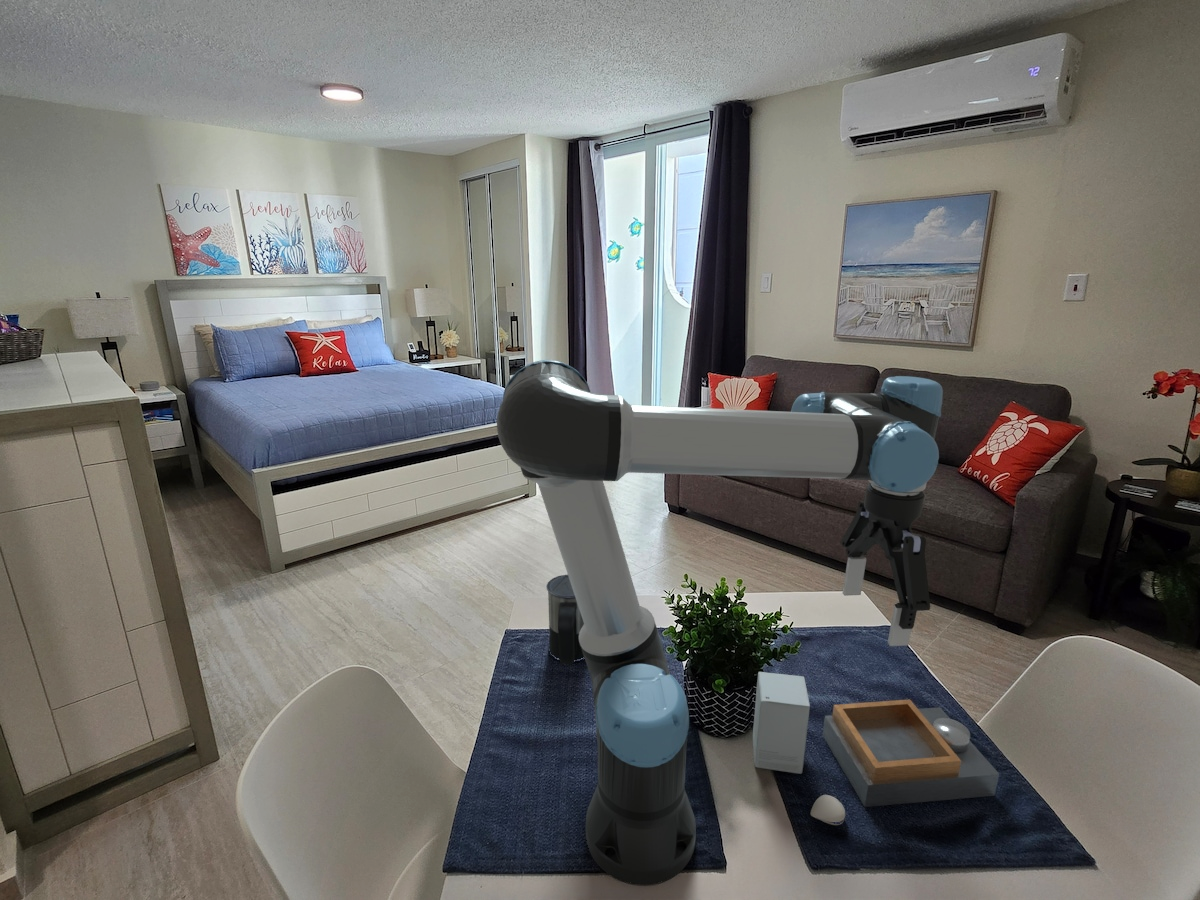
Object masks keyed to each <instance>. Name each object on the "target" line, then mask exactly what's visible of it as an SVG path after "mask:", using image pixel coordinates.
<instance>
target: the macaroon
mask: <svg viewBox="0 0 1200 900" xmlns="http://www.w3.org/2000/svg"><path fill="white" fill-rule="evenodd" d="M810 816H811V817H813V818H815V819H816V820H820V821H822V823H823V822H824V823H826V824H828V825H832V826H840V825H842V824H843V823H844V821H845V820H846V819H845V818H846V810H845V807H844V805H843V804H842V802H841V801H840V800H839V799H837V798H836V797H834V796H832V795H828V794H823V795H820V796H819V797H818V798H817V799H816V800H815V802H814V803H813V805H812V808H811V810H810ZM840 821H841V823H840V824H834V823H833V822H835V823H836V822H840Z"/></svg>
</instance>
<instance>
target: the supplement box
mask: <svg viewBox="0 0 1200 900" xmlns="http://www.w3.org/2000/svg"><path fill="white" fill-rule="evenodd" d="M810 708H811V704H810V699H809V694H808V689H807V684H806V679H805V676H802V675H794V674H793V675H791V674H786V673H773V672H766V671H765V672H764V671H758V673H757V682H756V694H755V705H754V719H753V730H752V749H753V762H754V763H753V765H754V767H755V768H758V769H765V770H772V771H779V772H784V773H785V772H787V773H791V774H800V775H801V774H802V773H803V770H804V769H803V768H804V761H805V753H806V744H807V736H808V735H807V734H808V733H807V732H808V726H809V716H810Z"/></svg>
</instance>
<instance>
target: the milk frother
mask: <svg viewBox="0 0 1200 900" xmlns="http://www.w3.org/2000/svg"><path fill="white" fill-rule="evenodd" d="M546 590H547V593H548V595H547V597H548V598H547V599H548V627H549V628H548V629H549V631H548V632H549V636H548V644H549V645H550V646H549V645H548V649H549V648H550V652H551V654H552V655H554V656H555V657H556V658H559V659H560V661H559V662H560V664H562V665H572V664H574V660H577V659H581V658H583V657H584V655H583V652H582V649H581V646H580V642H579V633H580V630H581V628H582V626H583V625H584V622H583V619H582V616H581V613H580V610H579V607H578V604H577V601H576V598H575V595H574V592H573V589H572V586H571V583H570V579H569V576H568V574H563V575H557V576H555V577H553V578H551V579H550V580H549V581H548V582H547V584H546Z"/></svg>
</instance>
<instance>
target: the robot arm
mask: <svg viewBox="0 0 1200 900" xmlns="http://www.w3.org/2000/svg"><path fill="white" fill-rule="evenodd" d="M584 377H585V376H583V375H582V374H581V373H580V372H579V371H578V370H577V369H575V368H574V367H573V366H571V365H569V364H567V363H565V362H562V361H559V360H555V359H541V360H536V361H533V362H531V363H528V364H526V365H524V366H523V367H522V368H521V369H519V370H517V371H516V372H515V373H514V374H513V375H512V376H511V378H510V379H509V380H508V381H507V383H506V385H505V388H504V390H503V395H502V402H501V403H500V405H499V409H498V411H497V416H496V417H497V418H496V431H497V437H498V439H499V443H500V445H501V446H500V447H502V449H503V451H504V452H505V454H506V455H507V456H508V457H509V459H510V460H511V461H512V462H513V463H514V464H515V465H517V466H518V467H519V468H520V470H521V473H522V474H521V475H523V478H525V479H526V480H529V481H531V482H534V483H535V484H537V485H538V488H539V490H540V495H541V498H542V500H543V503H544V506H545V509H546V512H547V515H548V519H549V521H550V525H551V528H552V530H553V534H554V536H555V537H554V538H555V540H556V543H557V545H558V549H559V552H560V555H561V558H562V561H563V564H564V567H565V570H566V574H567V575H568V576H569V579H570V583H571V586H572V589H573V592H574V595H575V598H576V601H577V604H578V607H579V610H580V613H581V616H582V619H583V622H584V625H583V626H582V628H581V630H580V633H579V642H580V646H581V649H582V652H583V655H584V658H585V660H584V661H585V663H586V666H587V669H588V672H589V673H588V674H589V677H590V681H591V686H592V696H593V697H592V698H593V705H594V709H593V710H594V717H595V719H594V720H595V726H596V728H595V729H596V740H597V741H596V742H597V743H596V744H597V785H596V788H595V790H594V792H593V795H592V798H591V800H590V802H589V805H588V808H587V810H586V816H585V841H586V840H587V841H586V845H588V846H587V849H588V848H589V849H588V851H589V853H590V856H591V857H592V859H593V860H594V862H595V863H596V864H597V866H598V867H599V868H600V869H602V870H603V871H604V872H605V873H606V874H608V875H610V877H612V878H614V879H616V880H618V881H621V882H623V883H626V884H630V885H636V886H637V885H638V886H651V885H656V884H661V883H664V882H666V881H669V880H670V879H672V878H675V876H677V875H678V874H680V872H682V871H683V870H684V869H685V867H686V866H687V865H688V864H689V862H690V860H691V859H692V856H693V854H694V851H695V846H696V835H697V834H696V828H697V827H696V824H697V823H696V818H695V815H694V812H693V811H694V810H693V809H692V806H691V803H690V801H689V797H688V795H687V792H686V789H685V788H686V787H685V782H686V766H687V765H686V762H687V743H688V731H689V726H690V715H689V714H690V713H689V707H688V701H687V697H686V694H685V691H684V689H683V687H682V685H681V684H680V682H678V680H677V679H676V678H675V677H674V676H673V675H672V674H671V672H670V668H669V666H668V661H667V658H666V654H665V648H664V647H665V646H664V644H663V641H662V638H661V636H660V634H659V631H658V627H657V624H656V621H655V617H654V616H653V613H652V612H651V611H650V610H649V609H648V608H646V607H644V606H642V605H640V602H639V599H638V595H637V593H636V592H637V591H636V588H635V586H634V582H633V578H632V575H631V571H630V568H629V564H628V562H627V558H626V555H625V551H624V548H623V545H622V544H623V543H622V541H621V538H620V534H619V531H618V527H617V524H616V520H615V518H614V514H613V510H612V507H611V504H610V500H609V496H608V493H607V490H606V487H605V483H604V482H619V480H620V479H622V478H623V477H624V476H625V475H626V474H628V473H630V474H631V473H633V474H634V473H635V474H637V473H638V474H662V475H663V474H666V475H667V474H669V475H697V476H699V475H700V476H701V475H703V476H729V477H730V476H731V477H732V476H736V477H762V478H763V477H766V478H768V477H769V478H772V477H773V478H794V479H795V478H799V479H800V478H802V479H830V480H831V479H834V480H835V479H836V480H857V481H868V484H867V485H866V489H865V495H864V501H858V503H857V508H856V513H855V514H854V516H853V518H852V521H851V522H850V524H849V526H848V527H847V530H846V531H845V533H844V535H843V537H842V538H841V541H840V543H841V547H842V548H843V547H844V548H846V549H845V554H846V555H847V559H846V560H847V562H846V566H845V567H846V568H845V574H844V581H843V586H842V587H843V589H842V594H843V596H861V594H862V588H863V582H864V576H865V569H866V563H867V558H866V557H865V556H868V551H869V550H871V549H872V548H873V547H874V546H875V545H878V546H879V547H880V549H882V551H883V552H884V557H885V558H886V559H887V560H888V561H889V564H890V568H891V572H892V577H893V582H894V586H895V589H896V594H897V598H898V602H894V605H893V606H894V607H893V611H892V612H893V613H892V615H891V620H890V621H891V622H890V626H889V627H890V628H889V633H888V640H887V644H888V645H889V647H902V646H909V644H910V639H911V635H912V630H913V628H914V626H915V623H916V622H915V621H916V617H917V612H918V611H922V612H923V611H930V609H931V600H930V599H931V598H930V589H929V582H928V573H927V563H926V554H925V553H926V545H927V538H926V537H925V536H923V535H918V536H917V535H915V534H913V532H912V524H913V522H915V521H916V520H918V519H919V518H920V517H921V515H922V511H923V506H924V500H925V493H924V492H923V491H924V490H925V489H926V488H927V483H928V482H929V481H930V479H931V478H932V477H933V476H934V474H935V472H936V470H937V467H938V464H939V459H940V452H939V446H938V443H937V442H936V438H937V437H936V436H937V432H938V427H939V423H940V419H941V417H942V413H941V412H942V406H943V394H944V392H943V391H944V390H943V387H942V385H941V384H940V383H939V382H937V381H936V380H932V379H929V378H924V377H918V376H907V375H906V376H905V375H896V376H889V377H887V378H885V379H884V380H883V383H882V386H881V388H880V392H873V393H872V392H871V393H858V392H857V393H856V392H855V393H851V392H847V393H845V392H825V391H821V392H815V393H813V392H812V393H803V394H800V395H799V396H798V397H797V398H796V399H795V401H793V404H792V407H791V410H790V411H782V410H781V411H780V410H779V411H776V410H755V409H754V410H753V409H735V408H734V409H733V408H731V409H730V408H729V409H728V408H713V407H711V408H708V407H685V406H664V405H663V406H660V405H659V406H658V405H641V404H637V405H636V404H630V403H628V402H627V401H626V399H625V398H623V397H622V395H621V394H620V395H618V394H604V393H603V394H602V393H595V392H591V389H590V386H589V383H588V382H587V381H586V379H585V378H584ZM901 549H902V551H901Z"/></svg>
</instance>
